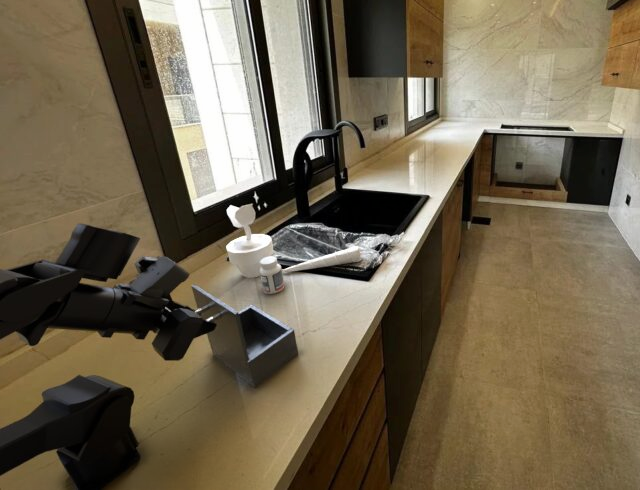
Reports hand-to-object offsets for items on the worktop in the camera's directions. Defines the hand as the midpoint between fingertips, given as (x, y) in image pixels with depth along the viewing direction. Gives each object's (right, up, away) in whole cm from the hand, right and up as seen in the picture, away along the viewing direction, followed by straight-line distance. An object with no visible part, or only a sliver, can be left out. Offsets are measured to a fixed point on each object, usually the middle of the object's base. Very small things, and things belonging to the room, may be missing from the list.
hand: (207, 321), depth 57 cm
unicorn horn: (+8, +2, +41) cm, 42 cm away
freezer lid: (+1, -1, +2) cm, 3 cm away
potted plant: (-12, +1, +39) cm, 40 cm away
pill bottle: (-3, -2, +31) cm, 31 cm away
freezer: (+3, -10, +10) cm, 15 cm away
